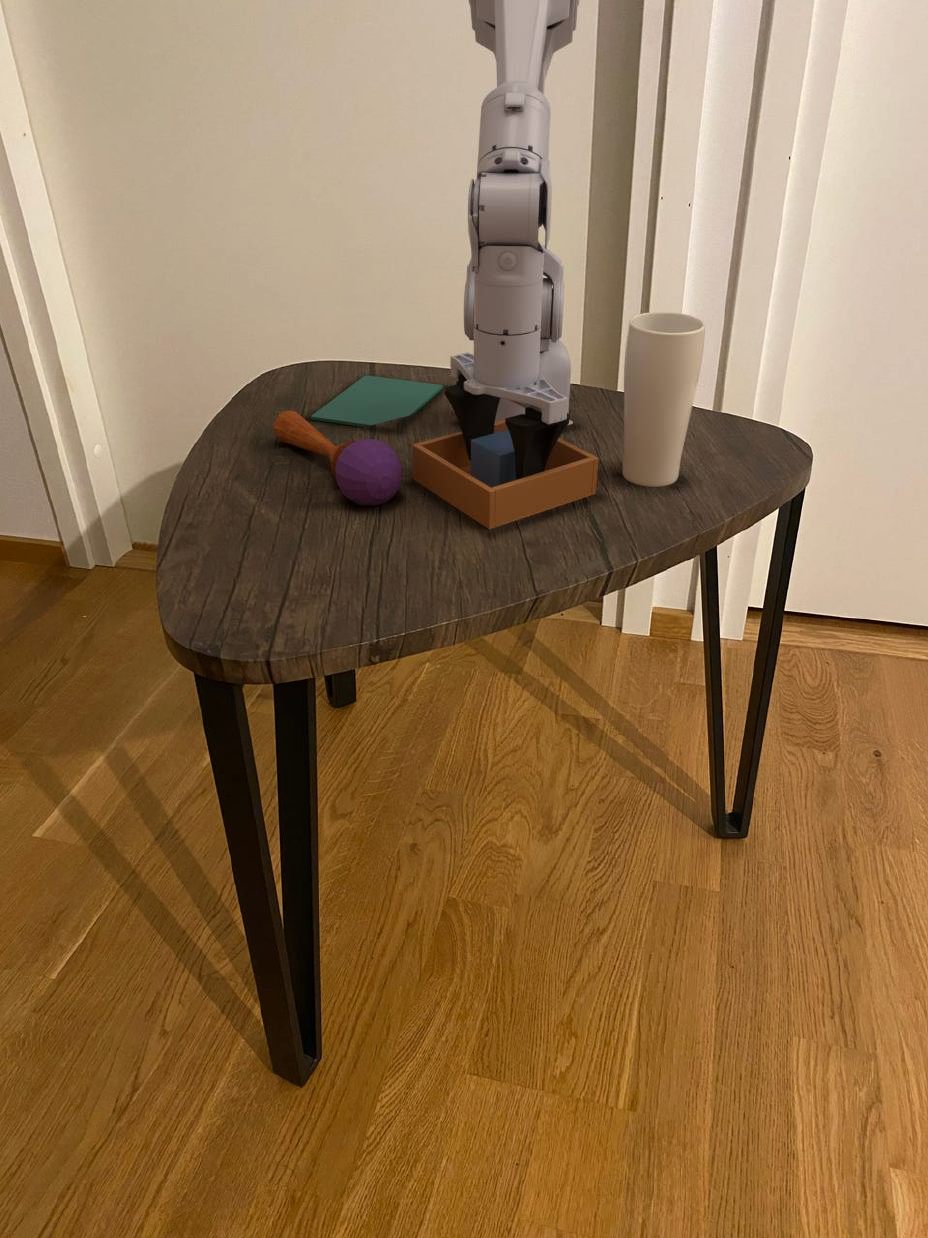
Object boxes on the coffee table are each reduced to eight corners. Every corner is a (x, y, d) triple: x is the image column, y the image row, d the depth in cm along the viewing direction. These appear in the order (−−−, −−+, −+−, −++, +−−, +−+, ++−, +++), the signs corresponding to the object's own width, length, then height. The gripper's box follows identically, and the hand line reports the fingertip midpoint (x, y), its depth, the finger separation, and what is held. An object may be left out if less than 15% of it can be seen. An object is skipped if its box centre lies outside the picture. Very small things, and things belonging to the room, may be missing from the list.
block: (508, 471, 94) (509, 428, 92) (536, 488, 91) (538, 444, 89) (470, 483, 92) (470, 439, 90) (498, 500, 89) (499, 455, 87)
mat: (365, 378, 117) (365, 374, 117) (443, 388, 115) (443, 384, 114) (310, 419, 106) (310, 416, 106) (395, 431, 104) (395, 428, 103)
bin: (515, 453, 99) (516, 416, 97) (595, 497, 90) (598, 457, 88) (413, 483, 93) (412, 444, 91) (489, 533, 85) (489, 491, 82)
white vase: (700, 484, 93) (723, 326, 85) (644, 500, 90) (663, 338, 82) (653, 459, 98) (671, 307, 90) (599, 473, 95) (612, 318, 87)
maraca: (316, 397, 101) (417, 447, 86) (313, 453, 103) (411, 511, 89) (262, 397, 98) (357, 450, 83) (260, 456, 100) (353, 517, 85)
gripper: (421, 313, 86) (424, 456, 94) (522, 356, 76) (517, 512, 84) (486, 300, 90) (484, 439, 97) (590, 340, 80) (580, 492, 87)
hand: (503, 472), depth 91 cm, fingers open, 7 cm apart
